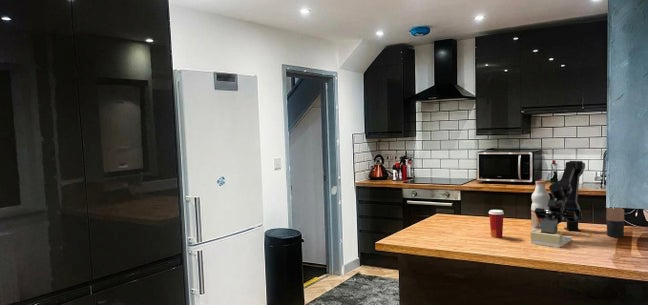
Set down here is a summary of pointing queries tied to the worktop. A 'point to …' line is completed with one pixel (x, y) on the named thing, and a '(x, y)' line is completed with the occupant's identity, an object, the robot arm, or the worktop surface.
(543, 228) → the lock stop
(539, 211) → the robot arm
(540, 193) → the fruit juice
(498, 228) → the paper cup
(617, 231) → the travel mug
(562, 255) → the worktop surface
